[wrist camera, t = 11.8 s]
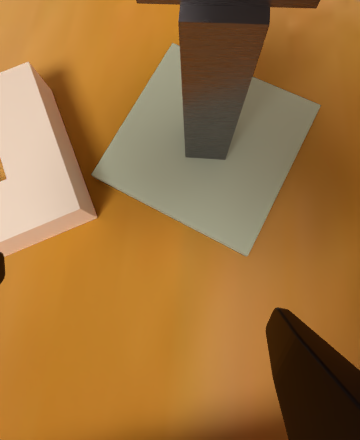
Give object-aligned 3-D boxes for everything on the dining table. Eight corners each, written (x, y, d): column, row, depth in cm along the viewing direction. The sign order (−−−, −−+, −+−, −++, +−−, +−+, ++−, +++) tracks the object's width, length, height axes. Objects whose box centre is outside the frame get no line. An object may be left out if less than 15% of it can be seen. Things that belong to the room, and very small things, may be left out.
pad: (317, 110, 19) (320, 105, 19) (245, 256, 18) (247, 256, 17) (173, 49, 21) (172, 43, 20) (94, 177, 19) (91, 174, 19)
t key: (245, 161, 18) (344, -29, 6) (165, 156, 19) (122, -33, 7) (247, 124, 19) (341, -113, 7) (169, 120, 19) (135, -113, 7)
